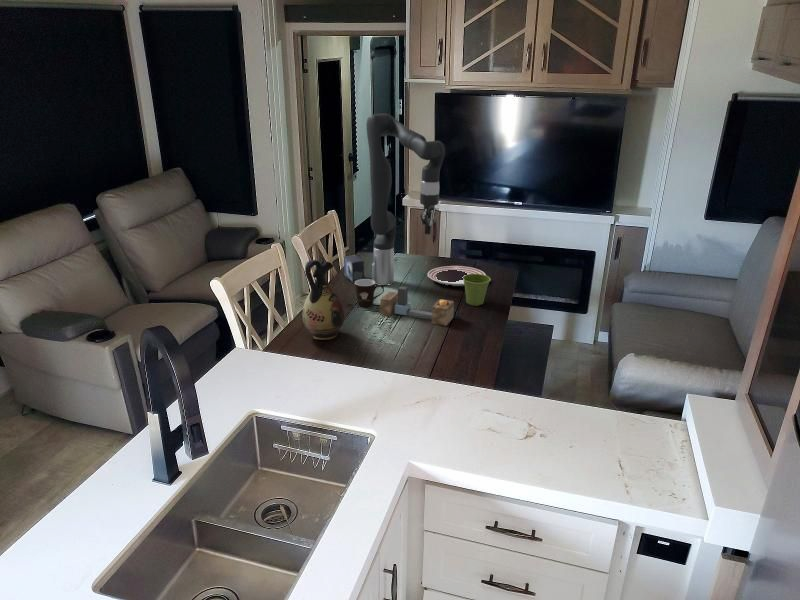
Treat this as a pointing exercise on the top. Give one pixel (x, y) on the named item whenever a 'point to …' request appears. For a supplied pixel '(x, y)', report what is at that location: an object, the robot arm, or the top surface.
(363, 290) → the coffee mug
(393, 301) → the stand
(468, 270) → the dinner plate
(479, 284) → the plant pot
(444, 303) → the button
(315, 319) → the ceramic jug
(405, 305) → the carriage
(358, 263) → the small box
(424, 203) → the robot arm
